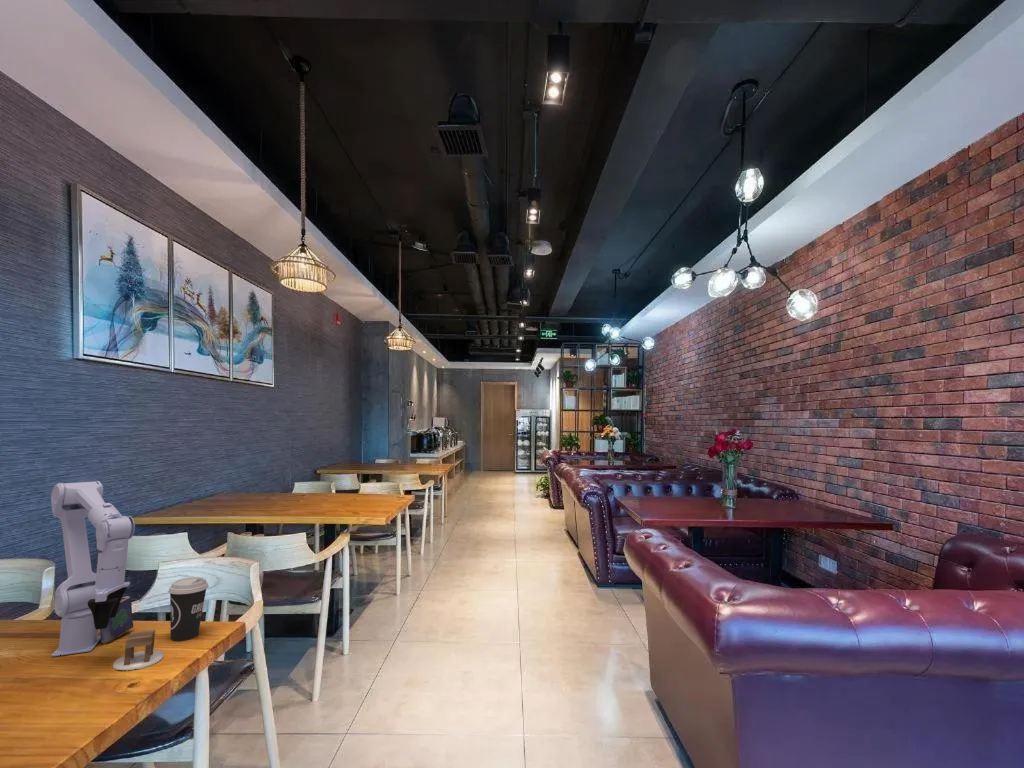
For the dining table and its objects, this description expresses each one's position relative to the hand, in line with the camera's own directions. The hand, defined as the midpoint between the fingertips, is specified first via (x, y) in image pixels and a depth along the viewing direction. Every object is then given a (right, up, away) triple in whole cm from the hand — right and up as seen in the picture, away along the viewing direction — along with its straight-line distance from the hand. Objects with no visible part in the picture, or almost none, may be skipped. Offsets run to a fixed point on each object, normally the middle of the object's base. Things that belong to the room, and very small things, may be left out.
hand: (105, 622), depth 121 cm
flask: (-8, -10, +13) cm, 19 cm away
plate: (+8, -10, 0) cm, 13 cm away
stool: (+8, -9, 0) cm, 12 cm away
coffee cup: (+10, -11, +15) cm, 21 cm away
